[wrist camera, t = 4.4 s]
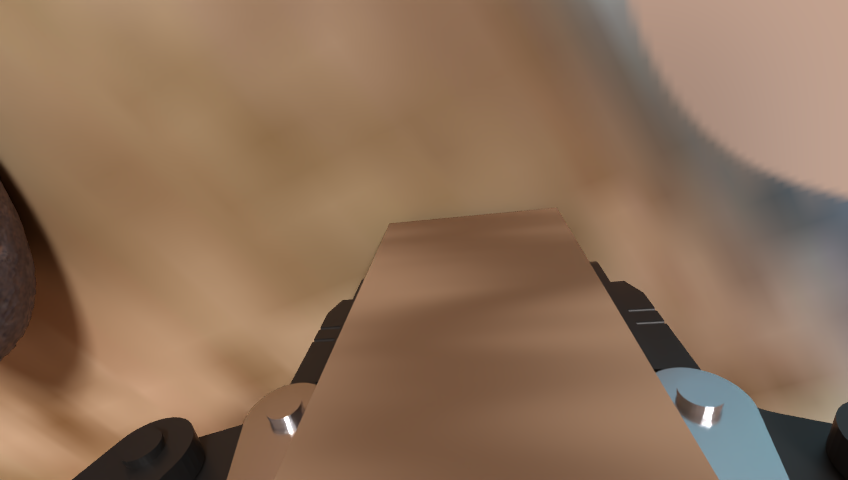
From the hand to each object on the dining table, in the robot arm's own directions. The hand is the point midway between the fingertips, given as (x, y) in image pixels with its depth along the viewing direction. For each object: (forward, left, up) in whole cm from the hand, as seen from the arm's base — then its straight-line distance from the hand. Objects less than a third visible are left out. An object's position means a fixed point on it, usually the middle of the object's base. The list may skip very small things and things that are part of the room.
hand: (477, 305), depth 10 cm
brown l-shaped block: (0, +6, -1) cm, 6 cm away
